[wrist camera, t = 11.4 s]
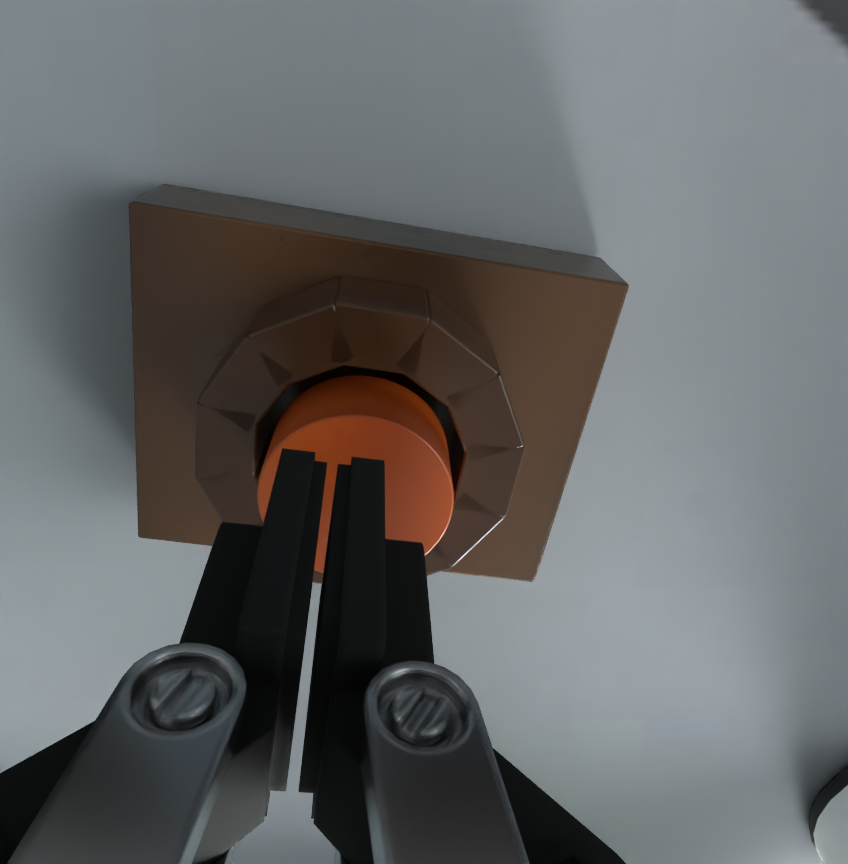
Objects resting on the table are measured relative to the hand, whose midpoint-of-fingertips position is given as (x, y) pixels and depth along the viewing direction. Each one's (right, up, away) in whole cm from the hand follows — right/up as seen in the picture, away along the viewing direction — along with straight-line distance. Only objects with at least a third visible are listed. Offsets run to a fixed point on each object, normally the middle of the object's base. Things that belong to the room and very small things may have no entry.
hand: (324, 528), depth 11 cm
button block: (0, +3, +6) cm, 7 cm away
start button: (0, +1, +3) cm, 3 cm away
